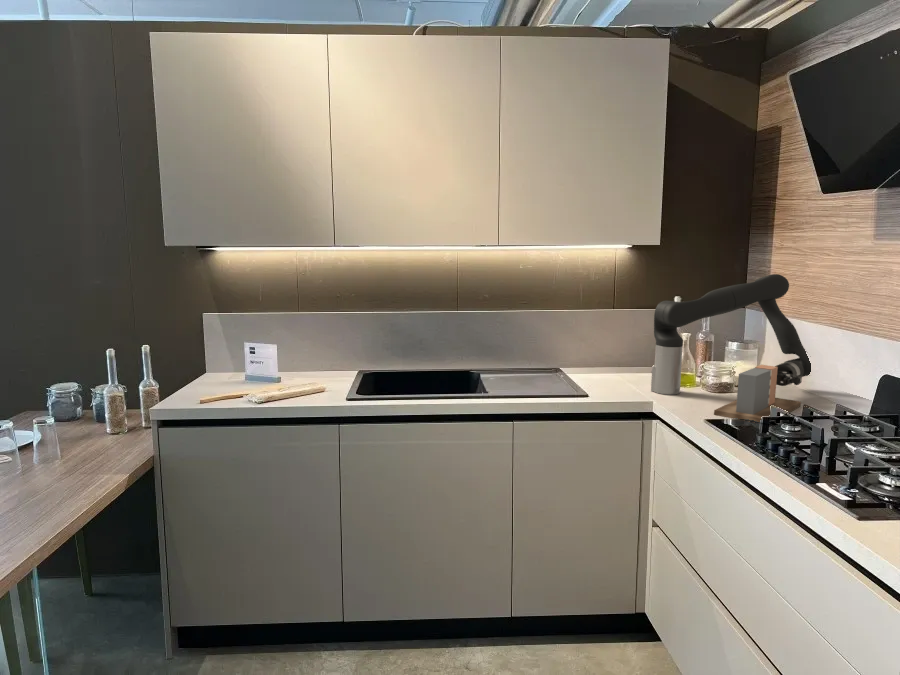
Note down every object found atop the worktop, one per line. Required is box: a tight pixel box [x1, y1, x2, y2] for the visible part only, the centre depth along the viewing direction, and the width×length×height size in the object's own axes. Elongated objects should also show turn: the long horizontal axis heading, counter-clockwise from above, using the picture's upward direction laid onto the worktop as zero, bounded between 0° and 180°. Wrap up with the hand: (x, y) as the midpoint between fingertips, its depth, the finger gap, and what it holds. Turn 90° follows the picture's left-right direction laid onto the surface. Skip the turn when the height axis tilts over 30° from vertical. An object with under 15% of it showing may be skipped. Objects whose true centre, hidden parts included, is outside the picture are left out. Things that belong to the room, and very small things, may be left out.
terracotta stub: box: [754, 364, 778, 406], centre depth 202 cm, size 5×6×12 cm
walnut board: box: [713, 397, 802, 422], centre depth 200 cm, size 16×32×2 cm, turn 136°
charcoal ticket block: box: [736, 367, 772, 415], centre depth 194 cm, size 5×14×12 cm, turn 136°
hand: (770, 380), depth 206 cm, fingers open, 8 cm apart
